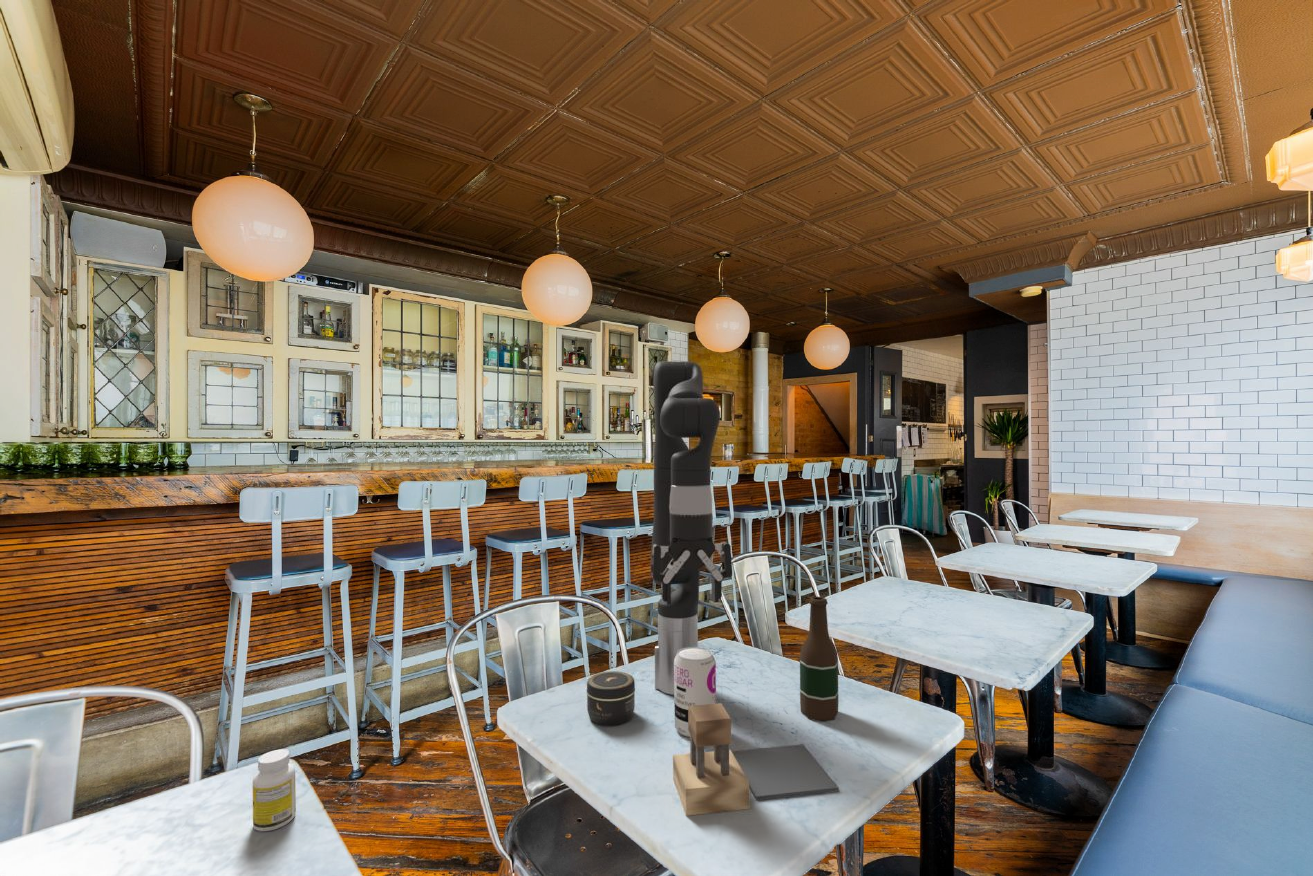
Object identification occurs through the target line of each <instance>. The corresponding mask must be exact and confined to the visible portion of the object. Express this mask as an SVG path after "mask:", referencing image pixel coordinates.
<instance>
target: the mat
mask: <svg viewBox="0 0 1313 876" xmlns="http://www.w3.org/2000/svg"><path fill="white" fill-rule="evenodd" d="M731 752H732V753H733V755H734V757H735V759H736V760H737V762H738V764H739V765H740V767H741V769H742V771H743V772H744V774H745V776H746V778H747V779H748V781H749V792H751V794H752V796H753V798H754V800H755V801H760V800H761V801H762V800H763V801H764V800H770V799H772V800H773V799H780V798H788V797H797V796H806V795H816V794H824V793H832V792H833V793H834V792H840V791H839V790H840V787H839V786H838V784H837V783H836V782H835V781H834V780H833V779H832V778H831V776H830V775H829V773H828V772H827V771H826V770H825V768H824V767H822V765H821V764H820V762H819V761H818V760H817V759H816V758H815V756H813V754H812V753H811V752H810V751H809V750H808V748H807V747H806V746H805V745H804V743H803V744H802V743H801V744H791V745H780V746H772V747H771V746H770V747H761V748H749V749H748V748H747V749H741V750H740V749H739V750H738V749H737V750H731Z"/></svg>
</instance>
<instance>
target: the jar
mask: <svg viewBox="0 0 1313 876" xmlns="http://www.w3.org/2000/svg"><path fill="white" fill-rule="evenodd" d="M635 683H636V682H635V678H634V677H633V676H632V675H631V674H629V673H628V672H627V673H626V672H622V671H611V670H610V671H603V672H598V673H595V674H594V675H592V676H590V677H589V678H588V679H587V682H586V694H587V695H586V696H587V698H586V699H587V701H586V703H587V704H586V706H587V713H588V717H589V719H590V720H591V722H593V723H594V724H596V725H599V726H604V727H615V726H620V725H624V724H626V723H627V722H629V721H630V720H631V718H632V717H633V715H634V712H635V701H636V700H635V698H636V697H635V695H636V694H635V693H636V692H635V691H636V685H635Z"/></svg>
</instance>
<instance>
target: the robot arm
mask: <svg viewBox="0 0 1313 876" xmlns="http://www.w3.org/2000/svg"><path fill="white" fill-rule="evenodd" d="M653 370H654V371H653V382H652V383H653V403H654V404H653V406H654V407H653V408H654V451H653V453H654V455H653V457H654V458H653V523H652V524H653V526H652V535H651V536H652V537H651V546H650V547H651V550H650V577H652V581H654V583H655V584H656V585H659V586H660V589H661V591H660V592H661V595H660V596H661V599H659V600H658V602H657V645H656V646H655V647H654V689H656V690H660V691H661V692H662V693H664V694H667V695H672V696H674V659H675V657H676V655H677V652H678V651H679V650H681V649H683V648H688V647H699V641H698V640H699V638H698V637H699V635H698V634H699V633H698V632H699V631H698V630H699V628H698V625H699V624H698V621H699V620H698V618H699V617H698V615H699V614H698V608H699V601H700V593H699V592H700V577H701V576H700V574H701V569H702V568H704V567H705V568H706V570H707V571H708V572H709V574H710V575H711V577H712V578H711V601H712V602H713V603H715V604H716V603H719V600H721V599H722V596H723V594H722V593H723V591H722V585H723V584H722V582H723V580H724V579H727V578H731V577H732V576H733V566H732V565H733V564H732V562H733V561H732V551H731V550H732V549H731V544H730V543H728V542H727V541H721V542H720V543H719V542H718V543H717V542H716V543H714V541H713V540H714V539H713V495H712V486H711V462H712V461H711V460H712V459H711V458H712V452H713V447H714V442H715V439H716V436H717V433H718V428H719V425H720V420H721V410H720V407H719V405H718V404H717V402H716V401H715V400H714V399H712V398H709V397H708V398H707V397H704V396H703V393H704V377H703V371H702V369H701V367H700V365H699V364H698V363H697V362H693V361H673V360H672V361H670V360H669V361H667V360H666V361H664V360H662V361H658V362H657V363H656V364H655V366H654V369H653ZM685 438H686V439H688V438H690V439H697V438H698V439H699V442H698V444H697V445H696V446H695V447H693V448H691V449H690V448H689V447H688V445H687V443H686V442H685V441H684V439H685ZM715 551H716V552H717V555H720V559H721V560H720V561H721V562H720V563H721V569H720V570H718V569H717V567H716V566H715V564H714V563H713V562H712V559H710V558H711V557H712V556H713V554H714V553H715ZM672 585H678V586H677V587H676V588H675V590H673V591H672Z"/></svg>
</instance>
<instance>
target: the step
mask: <svg viewBox="0 0 1313 876" xmlns="http://www.w3.org/2000/svg"><path fill="white" fill-rule="evenodd" d="M731 751H732V750H731V749H729V775H728V776H722V774H721V762H717V763H716V762H715V760H714V750H712V751H704V757H705V778H699V779H698V778H697V776H696V765H692V764H691V760H690V753H682V754H673V755H672V775H673V776H672V780H673V782H674V786H675V789H676V790H677V794H678V797H679V799H680V803H681V805H682V808H683V810H684V811H683V812H684V815H685V817H688V816H697V815H705V814H715V813H721V812H722V813H724V812H732V811H739V810H740V811H741V810H749V809H750V789H749V781H748V779H747V778H746V776H745V774H744V772H743V771H742V769H741V767H740V765H739V764H738V762H737V760H736V759H735V757H734V755H733V753H732V752H731Z"/></svg>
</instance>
